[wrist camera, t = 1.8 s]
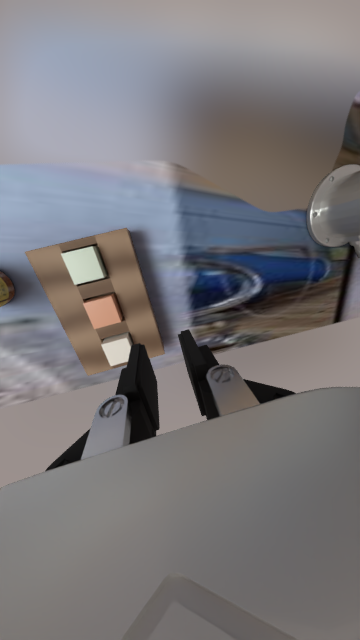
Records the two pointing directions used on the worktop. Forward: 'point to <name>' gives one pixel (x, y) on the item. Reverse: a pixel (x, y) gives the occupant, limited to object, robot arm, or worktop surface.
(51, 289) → the button panel
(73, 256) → the sage button
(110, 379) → the worktop surface
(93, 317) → the terracotta button
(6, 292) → the sauce bottle
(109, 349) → the cream button
